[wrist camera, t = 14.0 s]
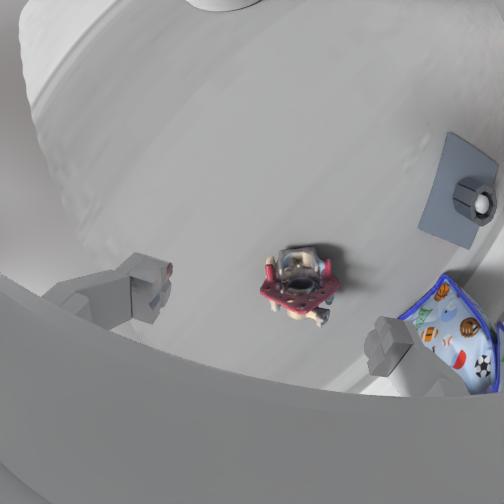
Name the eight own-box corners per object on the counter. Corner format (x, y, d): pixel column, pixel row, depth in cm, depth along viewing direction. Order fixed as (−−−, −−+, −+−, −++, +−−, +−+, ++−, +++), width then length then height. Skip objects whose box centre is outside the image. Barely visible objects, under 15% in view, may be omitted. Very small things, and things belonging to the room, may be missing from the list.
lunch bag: (491, 312, 40) (546, 398, 16) (440, 362, 47) (476, 455, 23) (449, 258, 37) (537, 366, 13) (387, 324, 44) (429, 452, 20)
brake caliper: (336, 230, 36) (349, 317, 30) (332, 265, 45) (340, 334, 40) (254, 239, 38) (254, 325, 32) (266, 271, 47) (268, 340, 42)
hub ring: (459, 172, 30) (478, 179, 25) (482, 186, 30) (500, 194, 25) (448, 207, 32) (465, 217, 28) (471, 219, 32) (488, 230, 28)
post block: (447, 132, 29) (471, 134, 23) (494, 163, 29) (518, 171, 23) (417, 227, 36) (436, 244, 30) (466, 247, 36) (485, 264, 30)
